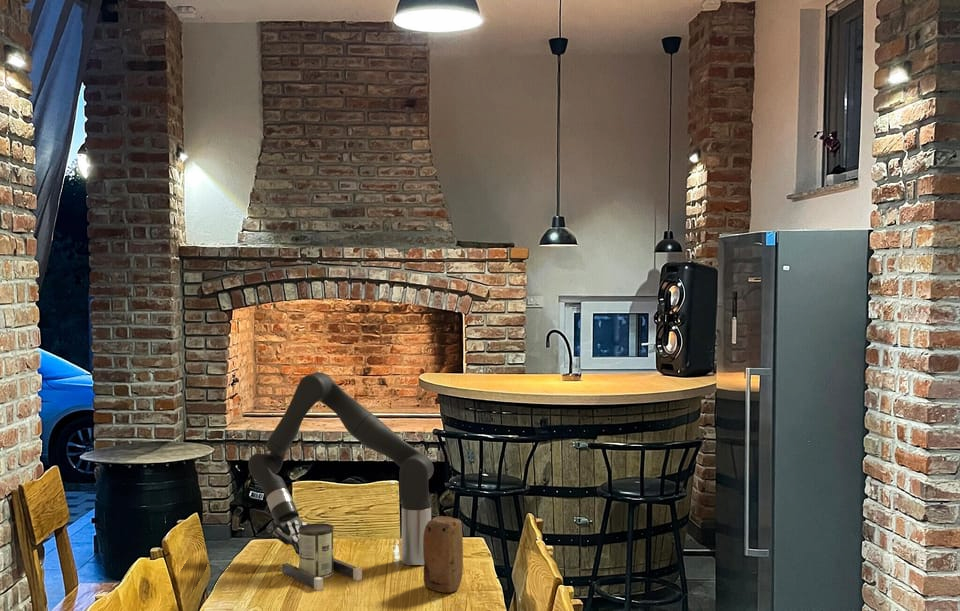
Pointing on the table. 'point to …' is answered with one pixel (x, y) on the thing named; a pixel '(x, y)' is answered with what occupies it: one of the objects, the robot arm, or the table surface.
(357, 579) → the grey parallel rails
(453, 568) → the block
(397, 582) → the table surface
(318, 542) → the coffee can
